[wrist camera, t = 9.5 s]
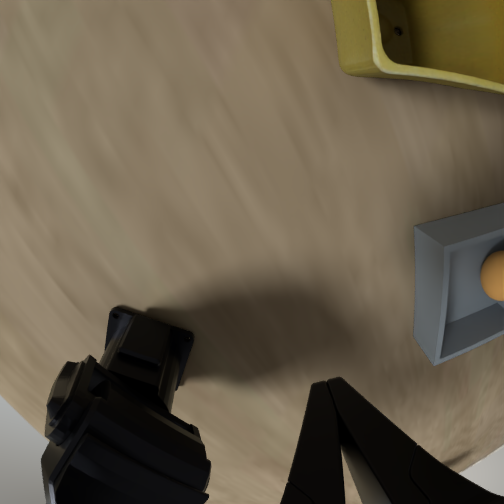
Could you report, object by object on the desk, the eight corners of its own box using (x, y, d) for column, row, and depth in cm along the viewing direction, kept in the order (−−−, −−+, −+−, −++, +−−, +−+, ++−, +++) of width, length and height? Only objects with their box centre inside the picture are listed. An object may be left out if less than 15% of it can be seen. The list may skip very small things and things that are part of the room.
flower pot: (437, 99, 17) (534, 101, 9) (316, 93, 17) (378, 72, 9) (419, -13, 14) (497, -54, 6) (299, -30, 14) (336, -108, 6)
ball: (516, 300, 20) (483, 314, 20) (498, 261, 22) (466, 272, 23) (538, 278, 17) (505, 293, 17) (517, 236, 19) (483, 246, 19)
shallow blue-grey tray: (413, 336, 24) (433, 366, 20) (413, 226, 20) (444, 246, 17) (497, 302, 24) (520, 324, 20) (506, 201, 20) (538, 216, 16)
